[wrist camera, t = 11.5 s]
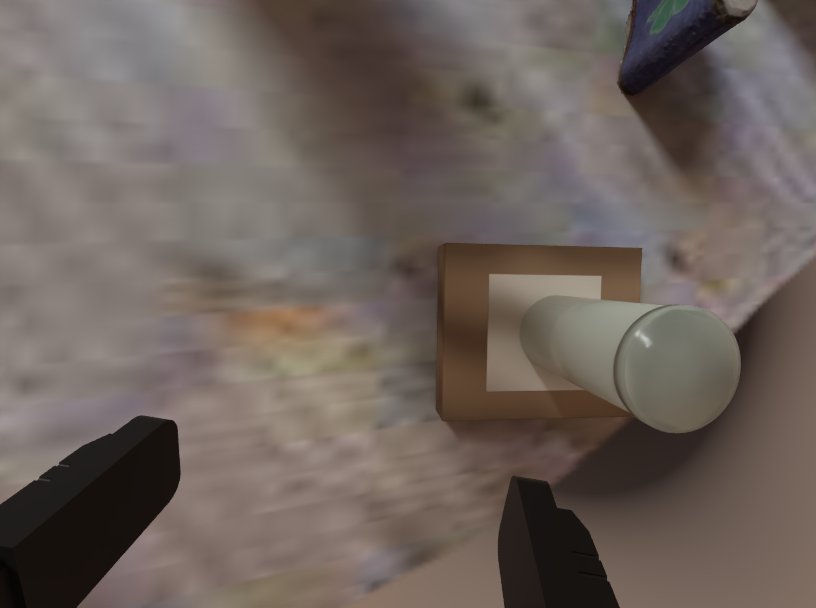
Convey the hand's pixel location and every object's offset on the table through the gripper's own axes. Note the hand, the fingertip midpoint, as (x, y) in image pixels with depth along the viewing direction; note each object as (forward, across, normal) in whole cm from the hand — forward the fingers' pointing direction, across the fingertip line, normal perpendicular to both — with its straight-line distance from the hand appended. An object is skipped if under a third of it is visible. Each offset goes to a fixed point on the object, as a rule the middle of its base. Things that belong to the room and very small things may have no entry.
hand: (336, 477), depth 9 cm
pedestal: (+22, -9, +3) cm, 24 cm away
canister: (+19, -10, +2) cm, 22 cm away
